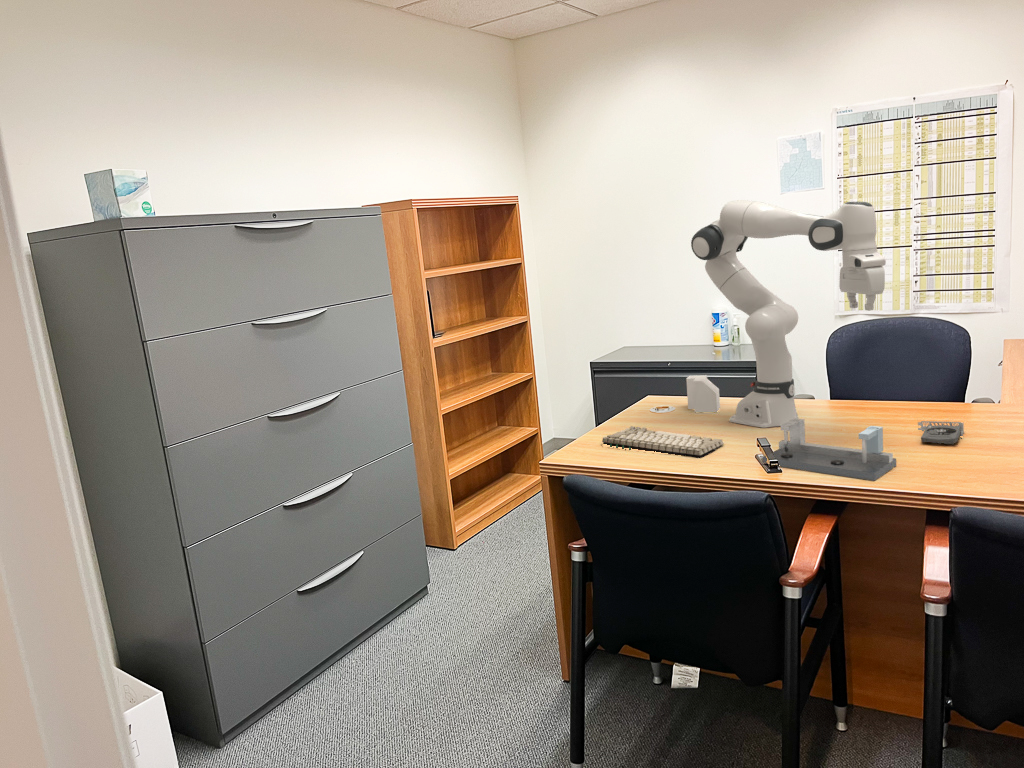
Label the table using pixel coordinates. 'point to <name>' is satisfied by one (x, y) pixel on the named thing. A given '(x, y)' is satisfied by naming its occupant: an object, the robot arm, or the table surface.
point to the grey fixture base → (828, 456)
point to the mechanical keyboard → (663, 442)
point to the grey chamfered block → (702, 394)
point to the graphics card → (941, 432)
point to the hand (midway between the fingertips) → (861, 309)
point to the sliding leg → (871, 441)
